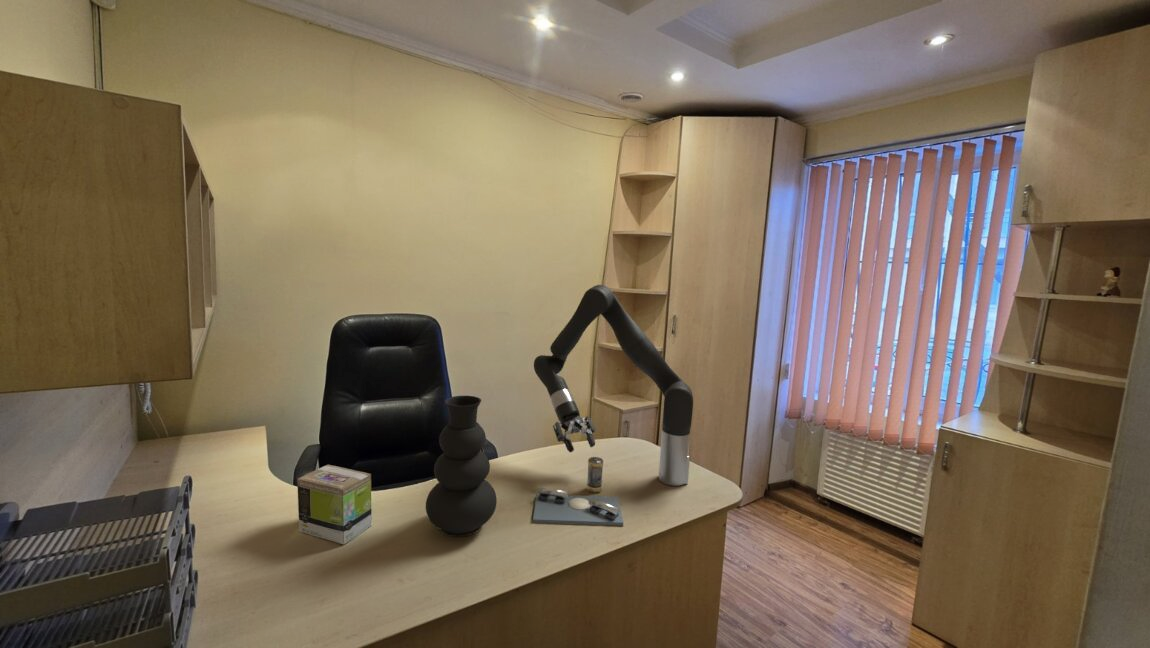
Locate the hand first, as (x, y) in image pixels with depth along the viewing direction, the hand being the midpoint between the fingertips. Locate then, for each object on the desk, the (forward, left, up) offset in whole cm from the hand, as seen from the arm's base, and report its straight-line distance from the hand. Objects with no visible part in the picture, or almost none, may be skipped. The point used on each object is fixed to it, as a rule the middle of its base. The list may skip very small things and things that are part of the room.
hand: (582, 448), depth 153 cm
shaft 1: (+9, +15, -11) cm, 20 cm away
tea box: (+65, +32, -11) cm, 73 cm away
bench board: (+1, +19, -11) cm, 22 cm away
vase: (+33, +29, -11) cm, 45 cm away
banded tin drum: (-4, +6, -11) cm, 13 cm away
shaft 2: (-6, +21, -11) cm, 25 cm away
